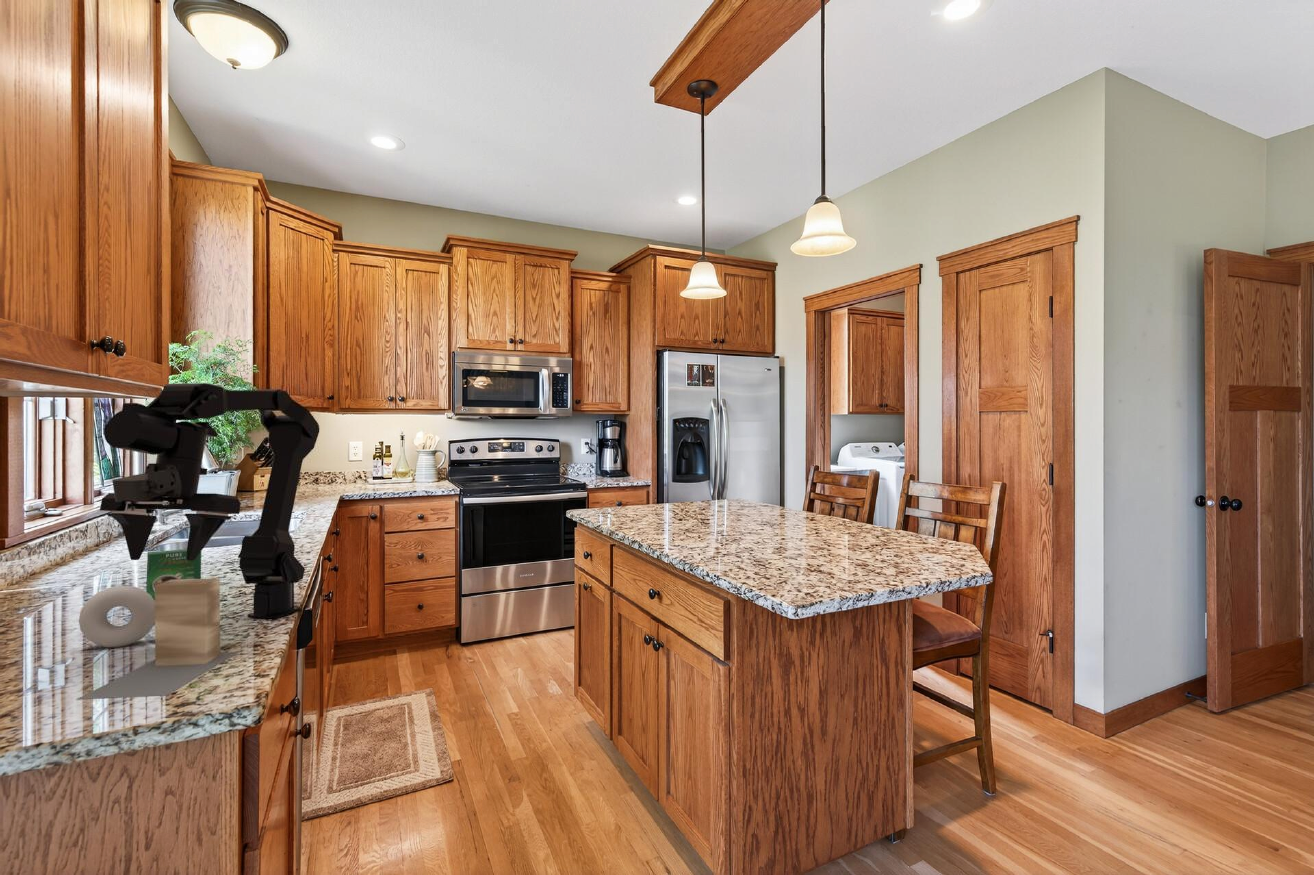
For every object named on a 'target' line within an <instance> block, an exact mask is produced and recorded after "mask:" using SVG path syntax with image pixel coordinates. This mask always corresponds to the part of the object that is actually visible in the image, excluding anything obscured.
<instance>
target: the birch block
mask: <svg viewBox="0 0 1314 875" xmlns="http://www.w3.org/2000/svg"><path fill="white" fill-rule="evenodd" d="M220 580H221V578H219V577H218V578H201V579H177V580H169V581H166V582H163V583H160V584H157V585H155V624H154V639H155V640H154V645H155V646H154V648H155V649H154V650H155V653H154V654H155V655H154V657H155V658H154V660H155V666H165V665H190V664H206V663H208V662H210V661H212V660H213V659H215V658H217V657H218V656H220V653H221V599H220V598H221V590H220V588H221V581H220Z"/></svg>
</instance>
